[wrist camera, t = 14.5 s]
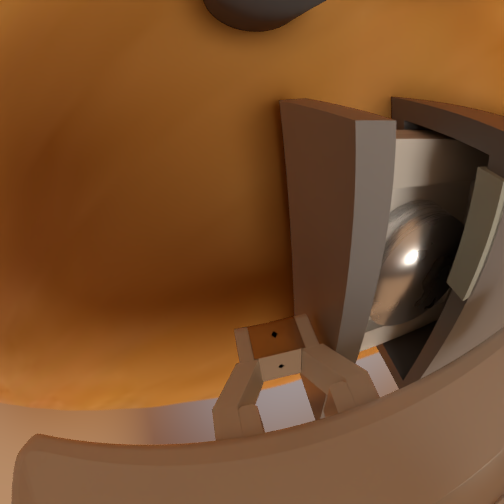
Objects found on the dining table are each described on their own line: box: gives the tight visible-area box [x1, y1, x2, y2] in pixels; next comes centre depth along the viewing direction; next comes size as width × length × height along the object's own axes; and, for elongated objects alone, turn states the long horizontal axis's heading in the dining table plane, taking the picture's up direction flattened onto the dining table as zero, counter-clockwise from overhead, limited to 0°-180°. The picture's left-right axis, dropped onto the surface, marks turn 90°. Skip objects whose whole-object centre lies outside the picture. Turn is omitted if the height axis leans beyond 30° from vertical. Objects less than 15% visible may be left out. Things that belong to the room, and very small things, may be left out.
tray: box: [279, 98, 489, 420], centre depth 12 cm, size 14×16×5 cm
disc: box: [370, 199, 464, 326], centre depth 12 cm, size 7×7×2 cm
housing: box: [376, 97, 504, 389], centre depth 12 cm, size 14×16×7 cm
